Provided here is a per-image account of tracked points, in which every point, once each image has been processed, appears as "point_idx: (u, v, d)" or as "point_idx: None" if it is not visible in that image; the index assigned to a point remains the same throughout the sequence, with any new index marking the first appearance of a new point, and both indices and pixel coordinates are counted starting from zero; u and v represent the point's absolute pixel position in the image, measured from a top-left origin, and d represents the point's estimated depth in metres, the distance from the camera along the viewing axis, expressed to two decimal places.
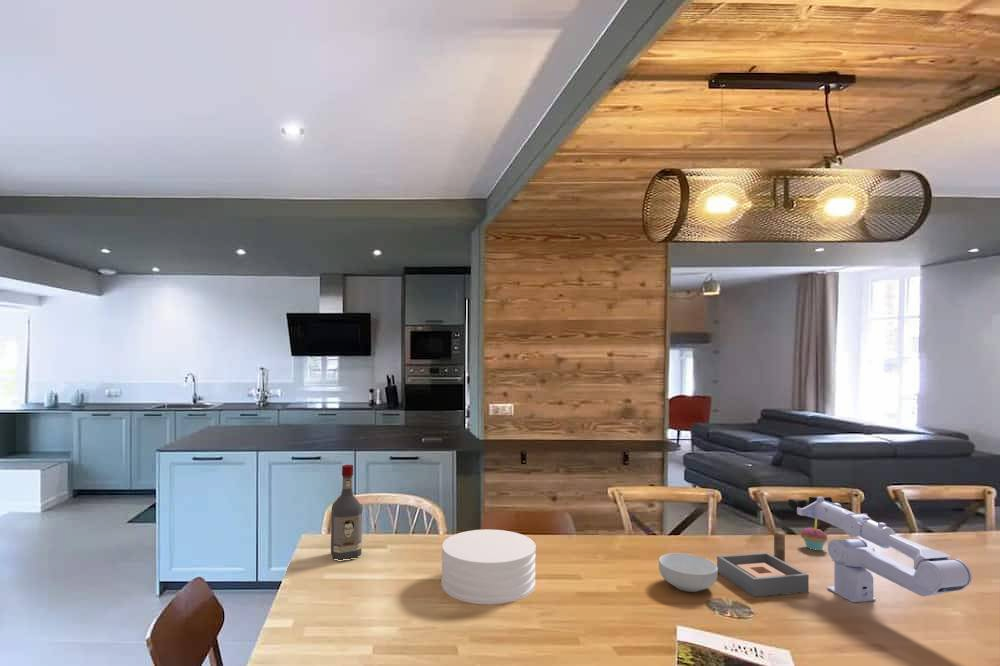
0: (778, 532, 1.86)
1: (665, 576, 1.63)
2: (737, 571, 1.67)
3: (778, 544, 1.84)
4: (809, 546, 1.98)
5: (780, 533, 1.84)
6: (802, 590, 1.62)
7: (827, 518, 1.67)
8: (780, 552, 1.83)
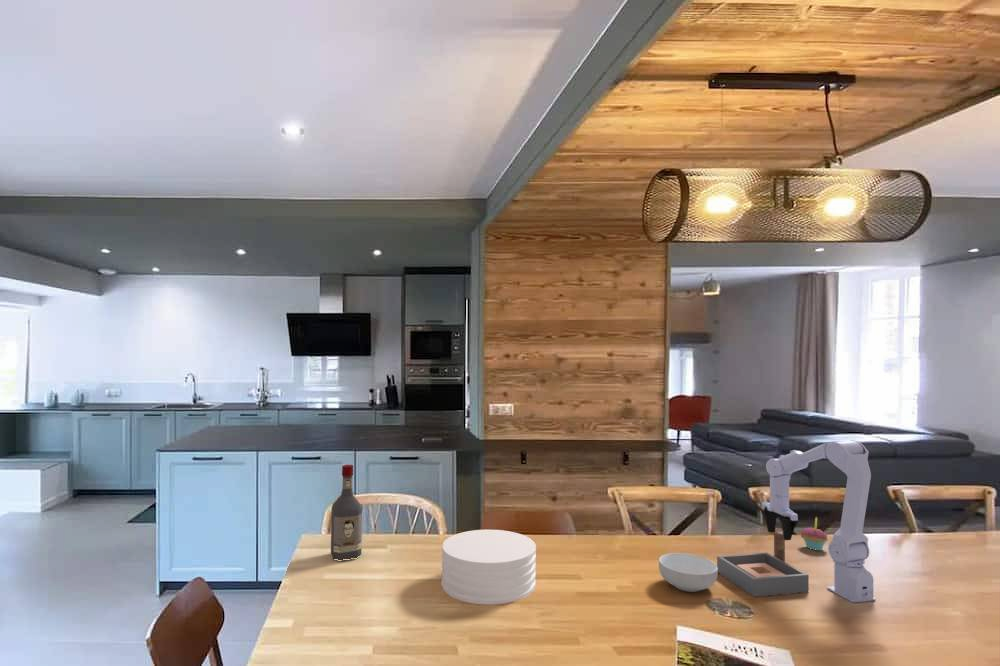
0: (778, 532, 1.86)
1: (665, 576, 1.63)
2: (737, 571, 1.67)
3: (778, 544, 1.84)
4: (809, 546, 1.98)
5: (780, 533, 1.84)
6: (802, 590, 1.62)
7: (775, 493, 1.84)
8: (780, 552, 1.83)
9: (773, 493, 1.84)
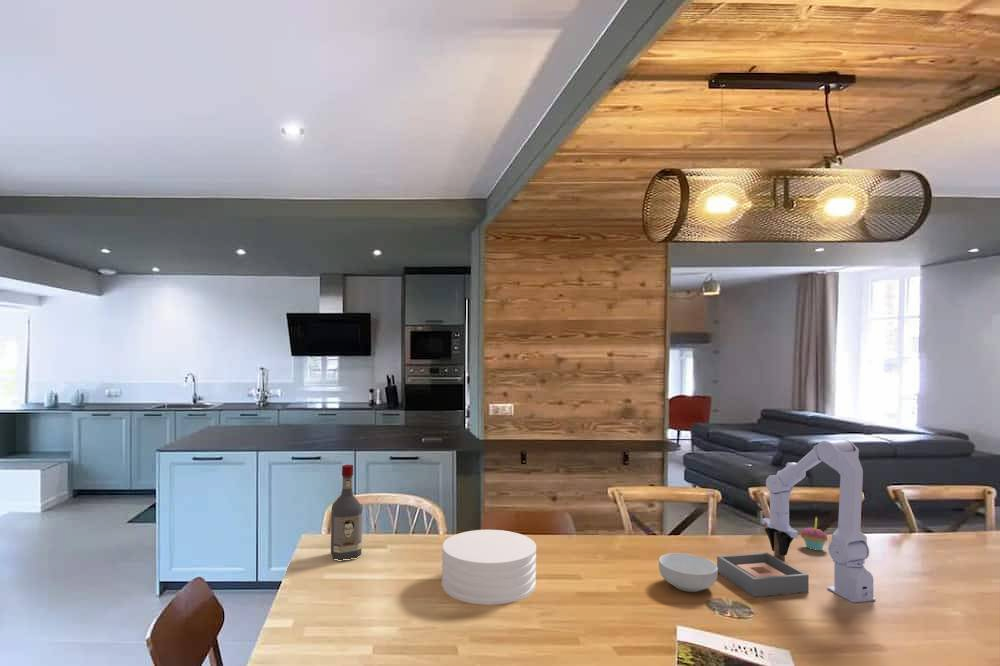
0: (778, 532, 1.86)
1: (665, 576, 1.63)
2: (737, 571, 1.67)
3: (778, 544, 1.84)
4: (809, 546, 1.98)
5: None
6: (802, 590, 1.62)
7: (774, 510, 1.84)
8: None
9: (773, 510, 1.84)
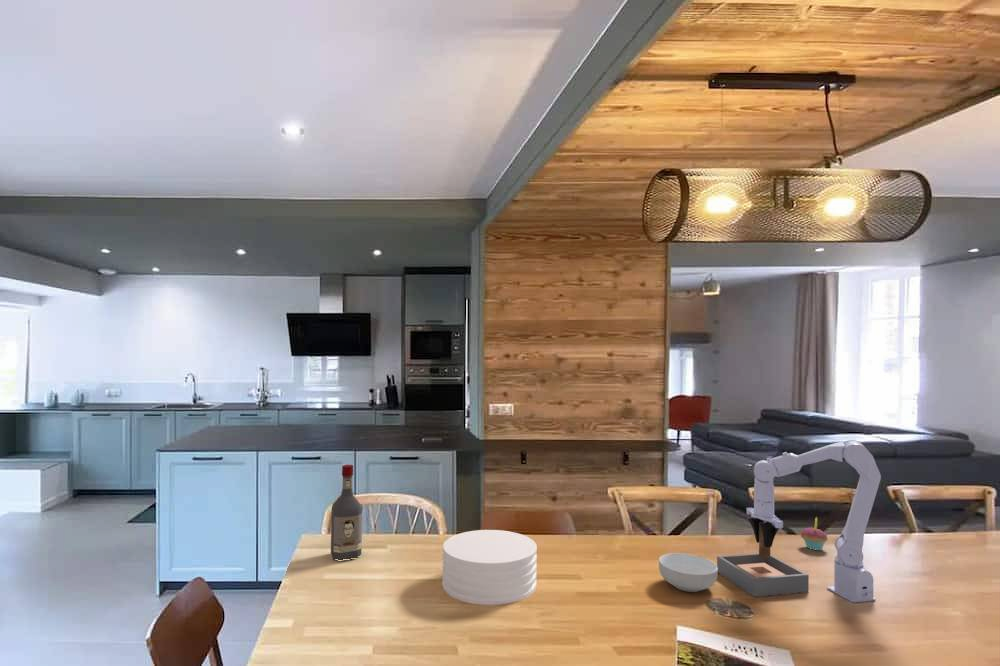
0: (763, 522, 1.73)
1: (665, 576, 1.63)
2: (737, 571, 1.67)
3: None
4: (809, 546, 1.98)
5: None
6: (802, 590, 1.62)
7: (766, 499, 1.70)
8: None
9: (764, 500, 1.70)
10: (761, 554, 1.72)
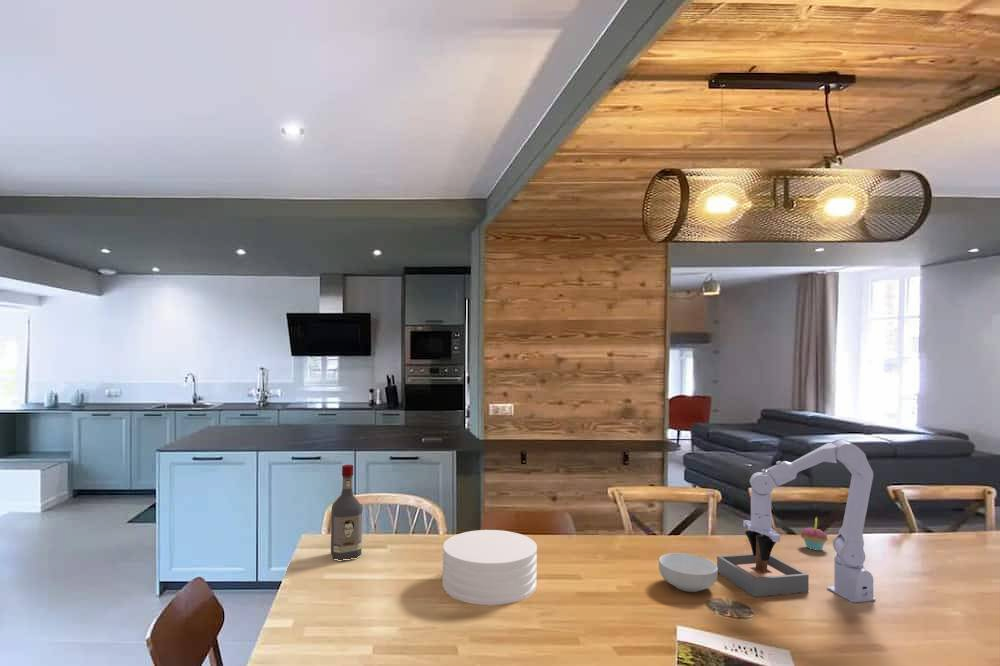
0: (760, 535, 1.71)
1: (665, 576, 1.63)
2: (737, 571, 1.67)
3: None
4: (809, 546, 1.98)
5: None
6: (802, 590, 1.62)
7: (764, 512, 1.68)
8: None
9: (762, 513, 1.68)
10: (758, 568, 1.69)
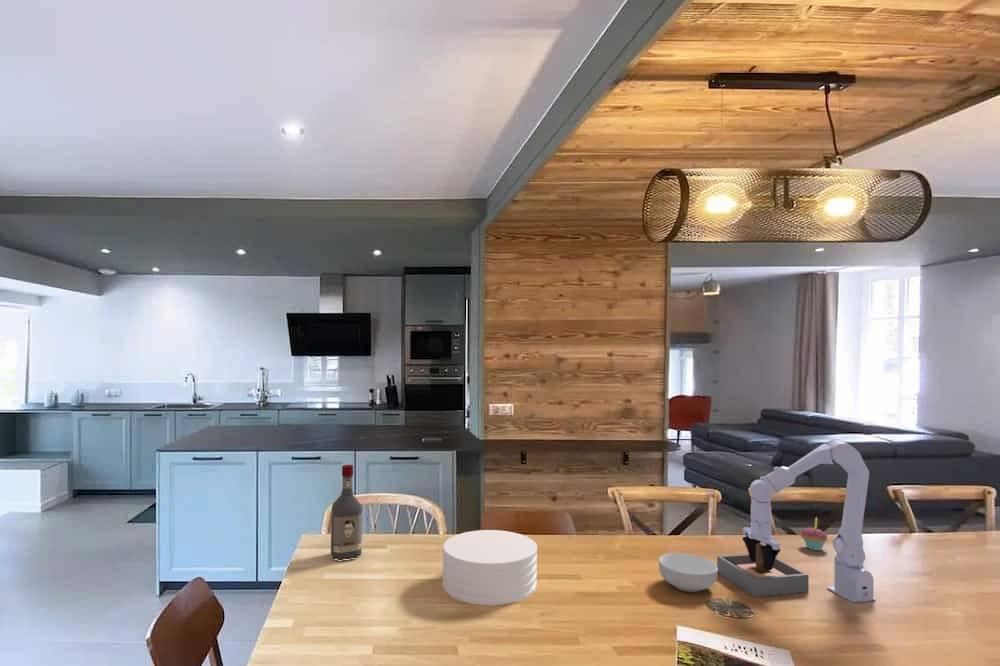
0: (760, 544, 1.71)
1: (665, 576, 1.63)
2: (737, 571, 1.67)
3: (761, 558, 1.69)
4: (809, 546, 1.98)
5: None
6: (802, 590, 1.62)
7: (764, 520, 1.67)
8: (763, 567, 1.68)
9: (762, 520, 1.68)
10: None
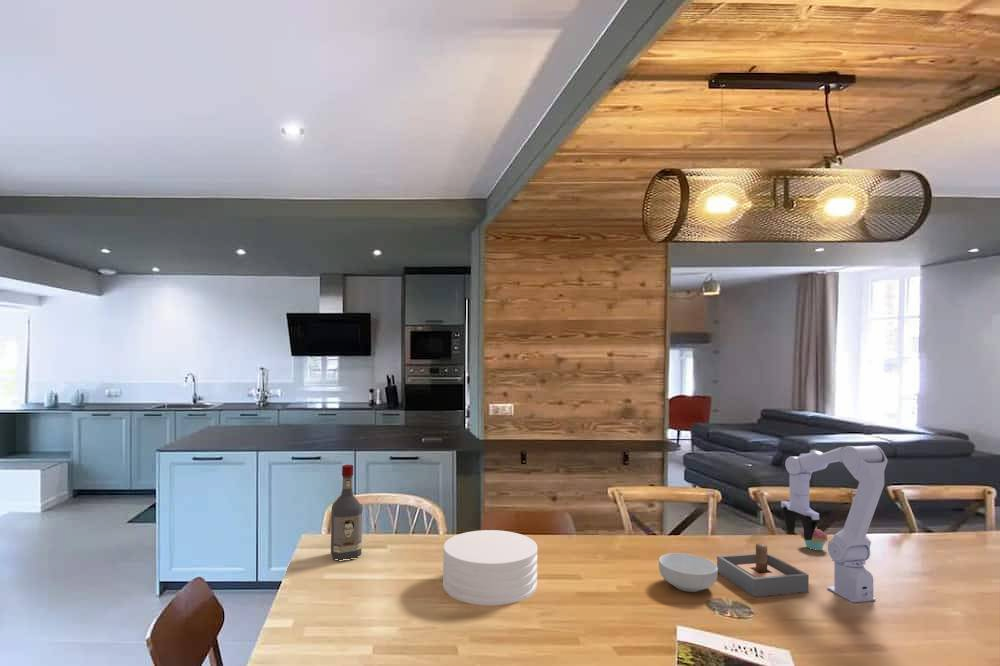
0: (760, 544, 1.71)
1: (665, 576, 1.63)
2: (737, 571, 1.67)
3: (761, 558, 1.69)
4: (809, 546, 1.98)
5: (762, 546, 1.70)
6: (802, 590, 1.62)
7: (793, 491, 1.80)
8: (763, 567, 1.68)
9: (792, 491, 1.81)
10: None
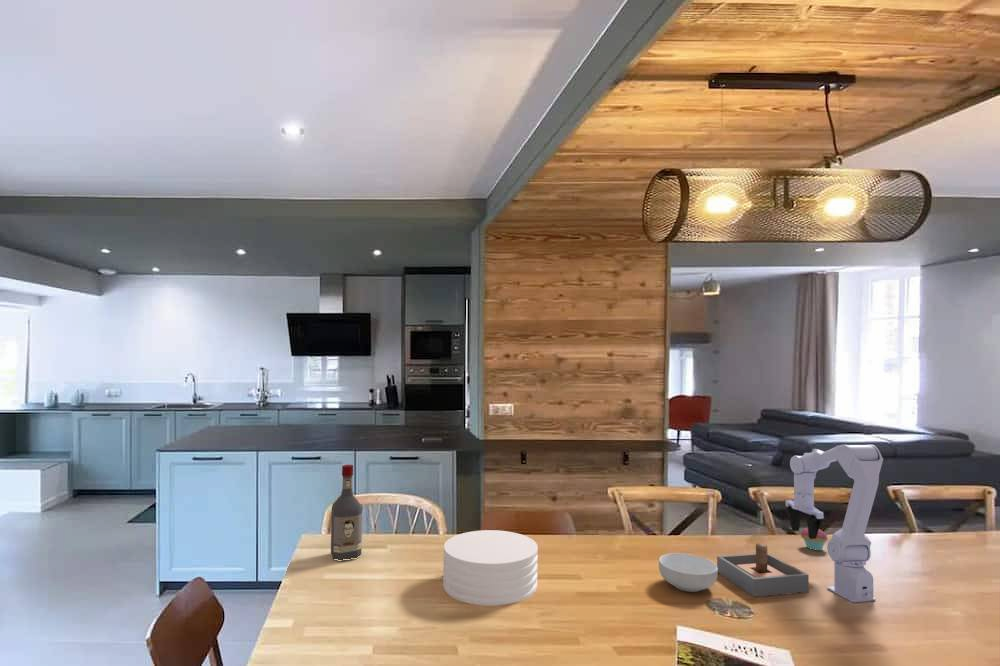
0: (760, 544, 1.71)
1: (665, 576, 1.63)
2: (737, 571, 1.67)
3: (761, 558, 1.69)
4: (809, 546, 1.98)
5: (763, 545, 1.70)
6: (802, 590, 1.62)
7: (797, 490, 1.82)
8: (763, 567, 1.68)
9: (796, 490, 1.82)
10: None
